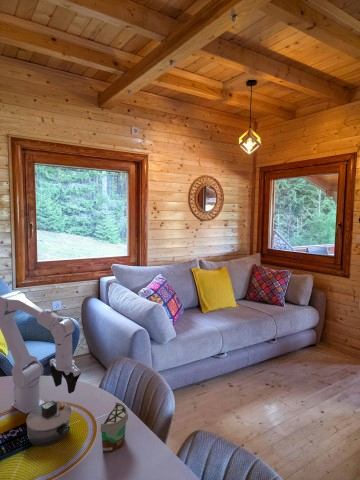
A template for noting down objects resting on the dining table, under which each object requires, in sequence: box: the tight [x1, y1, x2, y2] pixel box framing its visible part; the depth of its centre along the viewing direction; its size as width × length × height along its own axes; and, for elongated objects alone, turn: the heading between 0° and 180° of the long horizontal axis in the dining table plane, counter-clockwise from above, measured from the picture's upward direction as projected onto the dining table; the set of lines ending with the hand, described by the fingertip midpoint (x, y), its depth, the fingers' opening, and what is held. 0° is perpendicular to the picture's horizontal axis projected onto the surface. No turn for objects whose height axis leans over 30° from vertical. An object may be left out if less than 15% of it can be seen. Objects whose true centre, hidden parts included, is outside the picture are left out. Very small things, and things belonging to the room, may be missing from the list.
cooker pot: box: [26, 411, 71, 447], centre depth 106 cm, size 18×13×5 cm
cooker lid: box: [25, 400, 73, 432], centre depth 106 cm, size 14×14×4 cm
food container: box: [99, 401, 129, 454], centre depth 101 cm, size 12×6×10 cm, turn 168°
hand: (64, 388), depth 116 cm, fingers open, 7 cm apart
